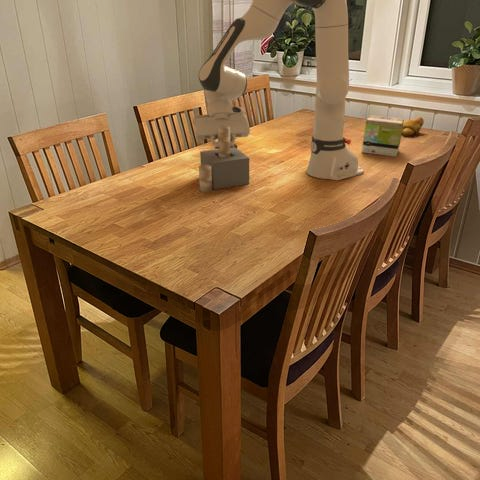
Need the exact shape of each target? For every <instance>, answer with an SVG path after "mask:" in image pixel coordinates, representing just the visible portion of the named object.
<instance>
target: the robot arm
mask: <svg viewBox="0 0 480 480" xmlns="http://www.w3.org/2000/svg"><path fill="white" fill-rule="evenodd" d="M293 4H294V5H297V6H299V7H302V8H303V7H308V8H311V9H312V10H313V13H314V21H315V22H314V27H315V28H314V30H315V31H314V33H315V64H316V90H315V104H314V105H315V106H314V119H313V131H312V132H313V133H312V136H311V140H310V151H311V152H310V158H309V162H308V165H307V167H306V170H305V171H306V174H308V175H309V176H311V177H314V178H317V179H324V180H326V179H327V180H332V181H340V180H343V179H344V180H345V179H348V178H351V177H355V176H359V175H362V174H364V169H363V167H361V166H360V165H359V158H358V156H357V155H356V154H355V153H354V152H352V151H351V150H350V149H349V148H348V147H347V146H346V145H348V146H349V145H350V144H352V139H350V138H347V137H346V138H345V137H343V134H344V128H345V127H344V126H345V119H346V118H345V113H346V97H347V95H348V93H349V90H350V65H349V64H350V61H349V13H348V5H347V0H252V2H251V4H250V6H249V8H248V10H247V11H246V12H245V13H244V14H243V15H242V16H241V17H239V18H236V19H235V20H234V21H232V23H231V24H230V25H229V27H228V28H227V30H226V31H225V33H224V34H223V36H222V38H221V39H220V41H219V42H218V44H217V46H216V47H215V49H214V50H213V52H212V53H211V54H210V56H209V57H208V59H207V60H206V61H205V62H204V63H203V65H202V66H201V68H199V72H198V80H199V84H200V85H201V87H202V89H203V90H204V93H205V100H206V102H207V106H206V109H207V114H197V115H195V116H194V117H193V118H192V124H193V126H194V127H195V129H194V137H195V139H196V140H210V142H211V144H212V145H213V149H214V150H216V149H219V144H218V141H217V142H216V140H215V139H217V140H218V127H220V126H228V127H230V138H232V140H233V141H232V142H230V148H234V144H235V142H236V140H237V138H246V137H247V138H248V136H249V135H250V132H251V129H250V123H249V120H248V118H247V116H246V115H245V114H244V113H245V110H244V108H242V107H239V106H236V105H232V104H231V102H234V101H235V100H238V99H239V98H241V97H242V96H243V95H244V94H245V93H246V91H247V89H248V79H247V76H246V74H245V73H244V72H243V71H241V70H240V71H239V70H237V69H234V68H231V67H230V66H227V65H225V64H226V63H227V61H228V59H229V57H231V54H232V53H233V52H234V51H235V48H236V47H237V46H238V45H239V44H241V43H244V42H246V41H261V40H265V39H268V38H270V37H271V36H272V35H273V33H275V32H276V29H277V27H278V26H279V23H280V21H281V19H282V17H283V16H284V13H285V11H286V10H287V9H288V7H290V6H291V5H293Z"/></svg>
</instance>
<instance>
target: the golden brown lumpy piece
mask: <svg viewBox="0 0 480 480" xmlns="http://www.w3.org/2000/svg"><path fill="white" fill-rule="evenodd" d="M424 122H425V121H424V119H423V117H420V116H419V117H415V118H413V119H406V120H405V119H404V123H403V128H402V134H401V135H403V136H404V137H411V136H414V135H413V134H416V135H418V134H419V133H420V131H421V128H422V127H423V125H424Z"/></svg>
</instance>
